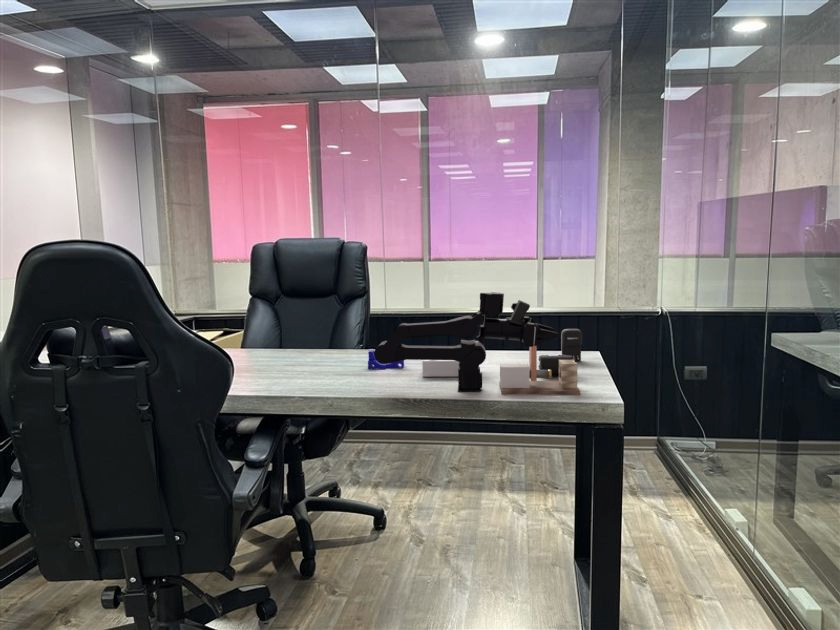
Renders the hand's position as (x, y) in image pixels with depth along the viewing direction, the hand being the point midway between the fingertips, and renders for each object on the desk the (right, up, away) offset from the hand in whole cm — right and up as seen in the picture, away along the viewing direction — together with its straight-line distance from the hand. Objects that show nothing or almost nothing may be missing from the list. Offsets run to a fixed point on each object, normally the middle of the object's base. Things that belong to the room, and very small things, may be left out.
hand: (556, 332), depth 161 cm
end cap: (+4, -15, +19) cm, 24 cm away
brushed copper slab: (-8, -13, +2) cm, 16 cm away
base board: (-5, -16, +2) cm, 17 cm away
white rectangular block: (-11, -16, +3) cm, 20 cm away
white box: (-29, -15, +25) cm, 40 cm away
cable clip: (-51, -14, +37) cm, 64 cm away
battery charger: (+15, -12, +40) cm, 45 cm away
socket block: (+4, -16, +2) cm, 17 cm away
